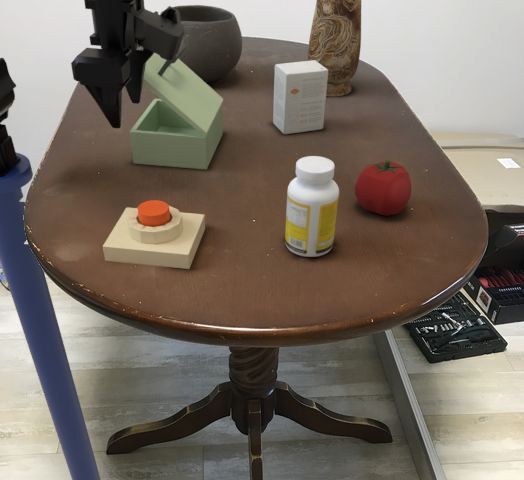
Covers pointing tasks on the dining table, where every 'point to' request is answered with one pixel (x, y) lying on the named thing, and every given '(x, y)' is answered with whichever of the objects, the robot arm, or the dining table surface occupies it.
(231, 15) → the bowl
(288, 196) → the pill bottle
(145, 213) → the button
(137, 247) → the release console
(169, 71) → the lid
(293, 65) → the small box
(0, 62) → the robot arm
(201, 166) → the box
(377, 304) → the dining table surface
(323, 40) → the vase
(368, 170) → the tomato
